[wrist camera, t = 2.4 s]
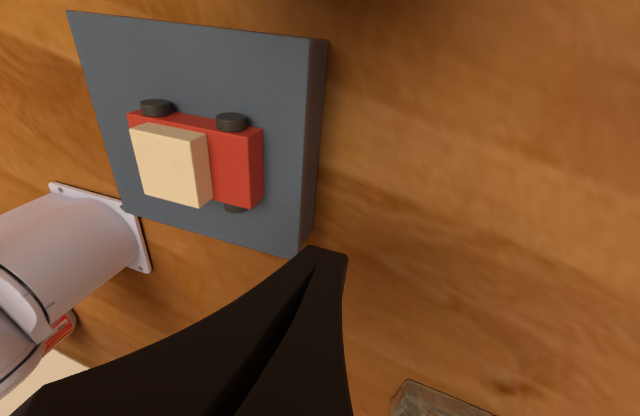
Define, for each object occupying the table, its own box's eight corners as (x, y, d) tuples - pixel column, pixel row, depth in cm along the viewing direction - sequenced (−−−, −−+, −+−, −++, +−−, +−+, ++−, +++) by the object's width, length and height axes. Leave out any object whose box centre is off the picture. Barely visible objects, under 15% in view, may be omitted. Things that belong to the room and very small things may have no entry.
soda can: (37, 280, 41) (-105, 371, 30) (84, 313, 41) (-40, 414, 31) (36, 304, 45) (-90, 392, 34) (78, 334, 45) (-33, 430, 35)
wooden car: (164, 180, 20) (126, 201, 18) (146, 94, 17) (99, 106, 15) (264, 205, 18) (238, 232, 16) (263, 116, 16) (231, 132, 13)
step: (159, 191, 26) (124, 212, 23) (121, 11, 19) (64, 10, 16) (315, 232, 23) (297, 262, 20) (332, 36, 16) (309, 38, 13)
